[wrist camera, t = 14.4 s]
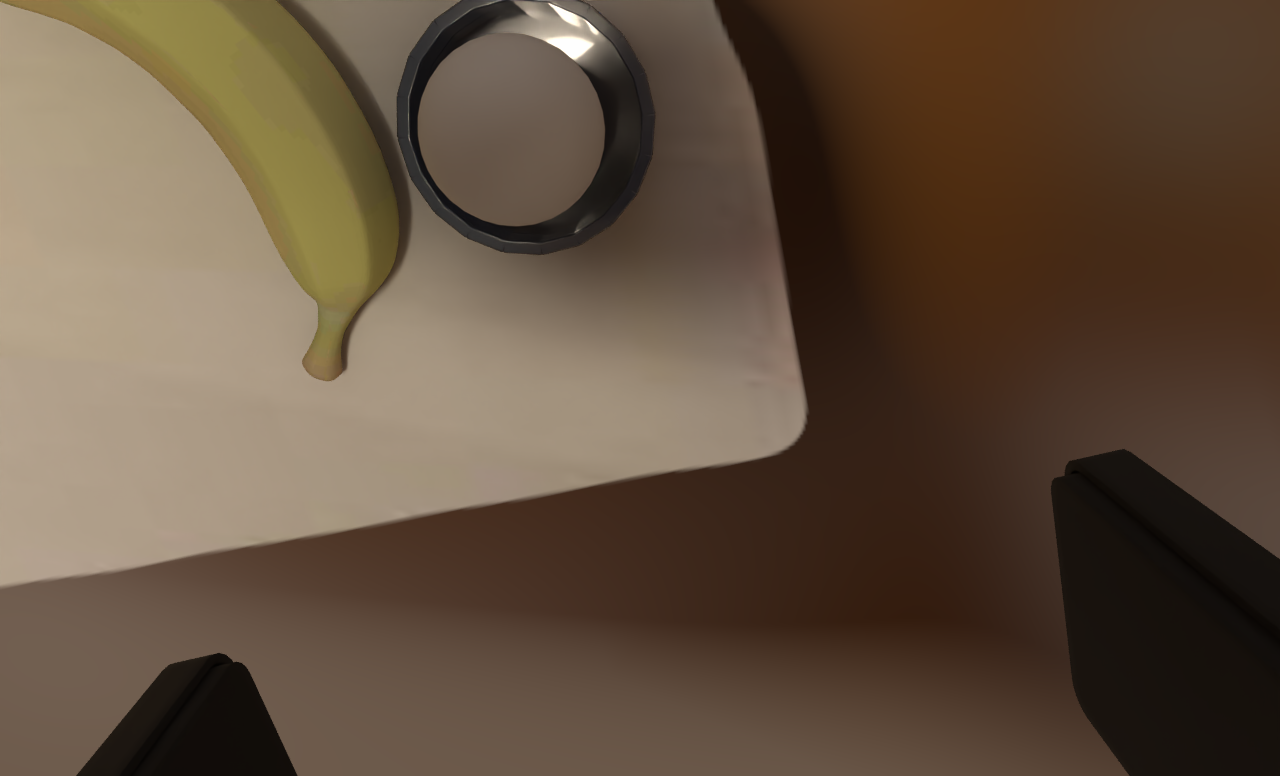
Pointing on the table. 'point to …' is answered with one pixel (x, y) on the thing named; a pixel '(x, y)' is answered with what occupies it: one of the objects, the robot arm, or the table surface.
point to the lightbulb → (511, 129)
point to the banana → (270, 137)
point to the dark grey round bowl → (555, 14)
